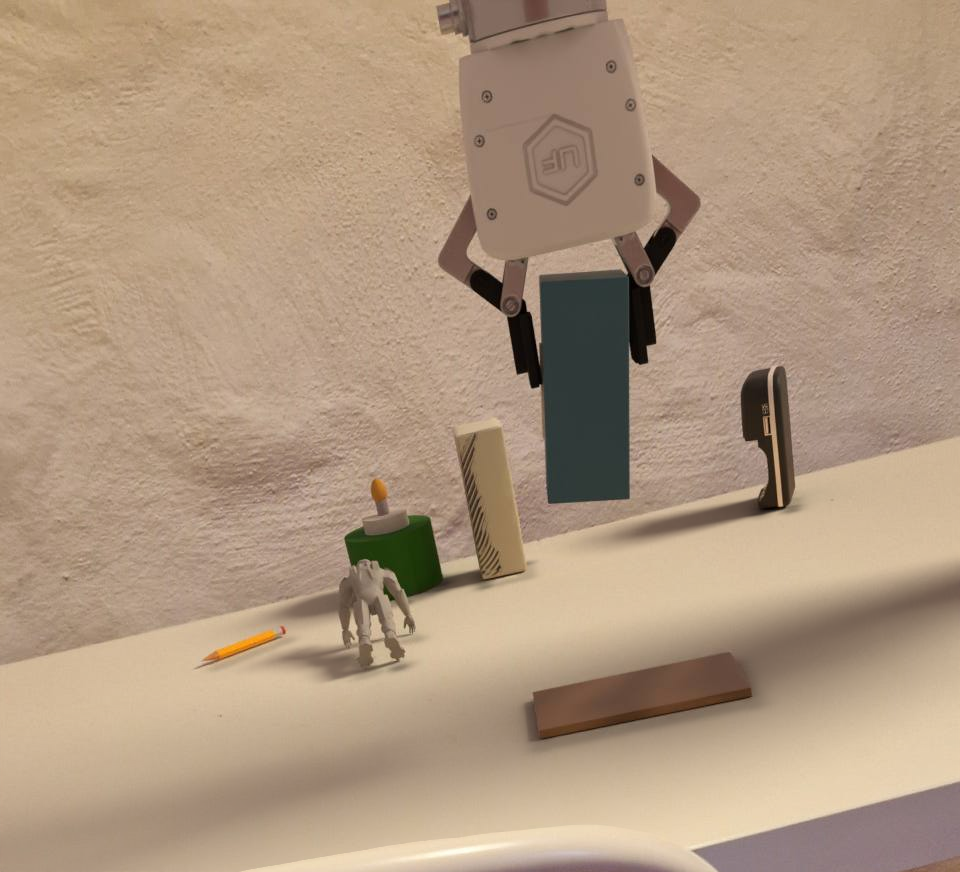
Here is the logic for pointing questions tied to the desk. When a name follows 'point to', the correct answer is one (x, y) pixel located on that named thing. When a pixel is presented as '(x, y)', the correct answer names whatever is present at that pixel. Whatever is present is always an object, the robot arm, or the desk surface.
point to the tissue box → (585, 385)
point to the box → (490, 497)
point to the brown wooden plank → (639, 694)
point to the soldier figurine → (372, 608)
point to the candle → (397, 544)
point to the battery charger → (770, 431)
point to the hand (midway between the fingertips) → (587, 370)
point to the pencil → (246, 643)
